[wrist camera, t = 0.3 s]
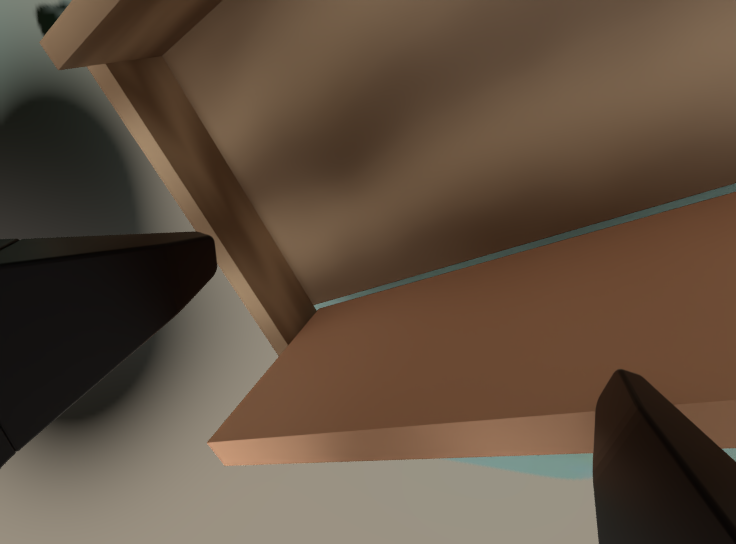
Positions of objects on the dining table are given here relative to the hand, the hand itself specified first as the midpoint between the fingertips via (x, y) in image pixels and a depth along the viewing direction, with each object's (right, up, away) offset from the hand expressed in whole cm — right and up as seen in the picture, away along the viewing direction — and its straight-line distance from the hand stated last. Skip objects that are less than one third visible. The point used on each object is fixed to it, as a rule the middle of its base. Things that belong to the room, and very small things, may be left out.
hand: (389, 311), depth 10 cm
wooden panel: (+5, +1, +9) cm, 10 cm away
